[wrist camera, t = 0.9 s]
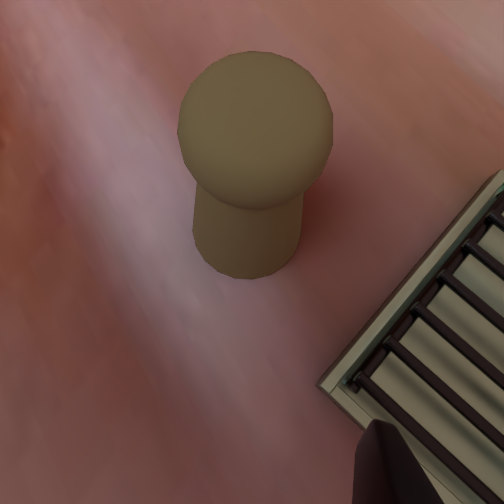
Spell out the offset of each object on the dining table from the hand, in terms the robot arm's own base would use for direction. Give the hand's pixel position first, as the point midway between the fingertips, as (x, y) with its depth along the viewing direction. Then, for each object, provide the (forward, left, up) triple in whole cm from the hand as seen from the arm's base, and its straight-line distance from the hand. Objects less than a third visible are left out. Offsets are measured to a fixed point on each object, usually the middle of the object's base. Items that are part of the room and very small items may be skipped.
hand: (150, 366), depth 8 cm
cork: (+8, -1, -13) cm, 15 cm away
